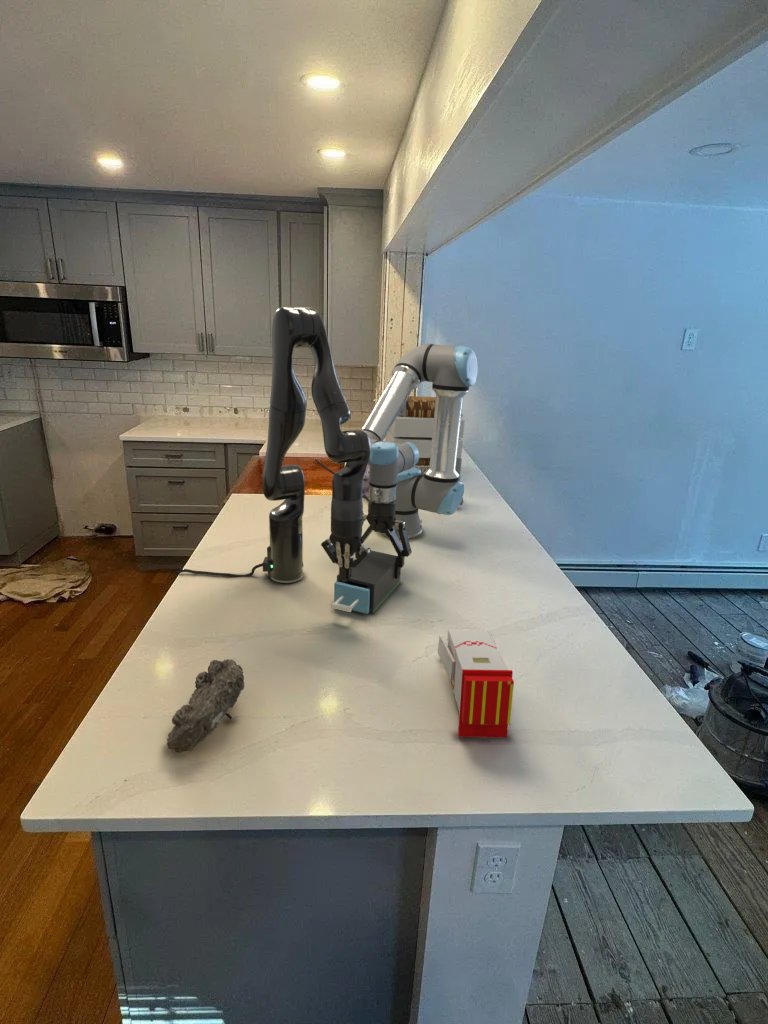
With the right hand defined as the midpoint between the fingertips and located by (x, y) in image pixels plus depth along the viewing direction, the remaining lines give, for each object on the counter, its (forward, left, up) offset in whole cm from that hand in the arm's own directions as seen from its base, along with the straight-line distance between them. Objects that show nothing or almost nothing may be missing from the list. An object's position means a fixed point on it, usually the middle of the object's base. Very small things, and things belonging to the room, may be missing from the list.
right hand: (378, 572), depth 162 cm
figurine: (-66, +49, -4) cm, 82 cm away
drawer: (+6, -11, -3) cm, 13 cm away
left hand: (+10, -19, +8) cm, 23 cm away
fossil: (+24, -61, -4) cm, 66 cm away
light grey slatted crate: (-78, +92, -4) cm, 120 cm away
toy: (+49, -16, -4) cm, 52 cm away
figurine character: (-36, +70, -4) cm, 79 cm away
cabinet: (+3, -6, -4) cm, 7 cm away
